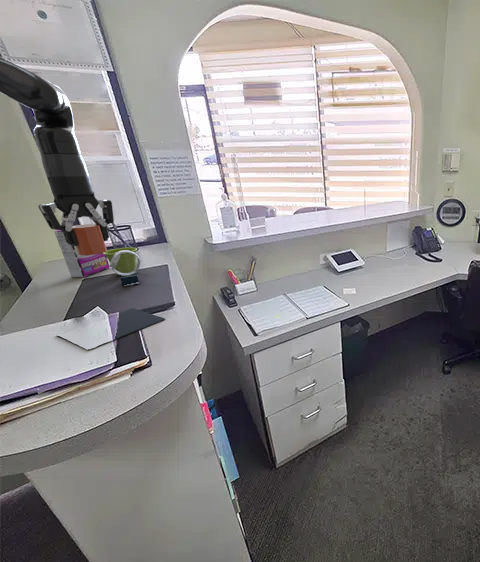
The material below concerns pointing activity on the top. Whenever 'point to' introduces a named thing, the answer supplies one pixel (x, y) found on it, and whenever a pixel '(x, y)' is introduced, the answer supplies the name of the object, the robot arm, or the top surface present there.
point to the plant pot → (123, 259)
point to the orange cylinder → (89, 239)
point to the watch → (130, 276)
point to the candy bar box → (80, 259)
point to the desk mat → (135, 321)
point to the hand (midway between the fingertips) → (89, 242)
